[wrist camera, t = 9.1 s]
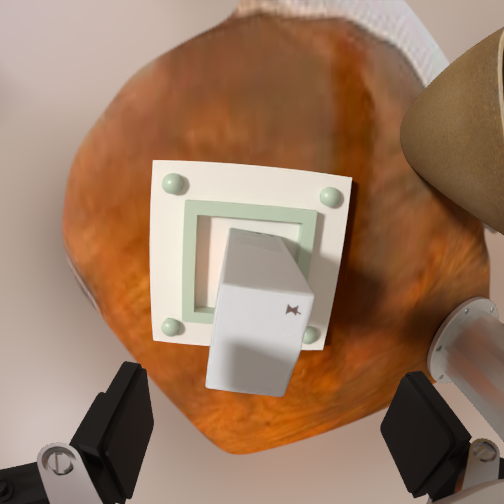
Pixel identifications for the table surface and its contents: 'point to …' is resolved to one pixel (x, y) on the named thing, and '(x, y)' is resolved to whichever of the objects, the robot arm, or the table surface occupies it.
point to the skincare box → (257, 316)
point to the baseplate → (246, 218)
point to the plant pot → (463, 131)
